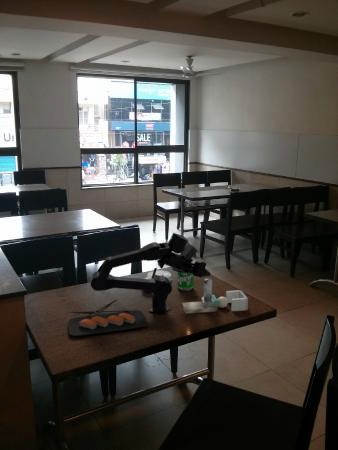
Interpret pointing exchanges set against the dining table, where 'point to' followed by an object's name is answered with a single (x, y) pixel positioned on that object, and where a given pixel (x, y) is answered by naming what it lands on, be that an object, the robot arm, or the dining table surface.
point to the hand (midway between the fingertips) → (203, 273)
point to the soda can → (185, 281)
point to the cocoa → (151, 278)
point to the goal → (237, 300)
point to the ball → (222, 302)
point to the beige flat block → (197, 307)
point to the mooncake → (160, 272)
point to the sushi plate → (106, 322)
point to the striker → (208, 294)
